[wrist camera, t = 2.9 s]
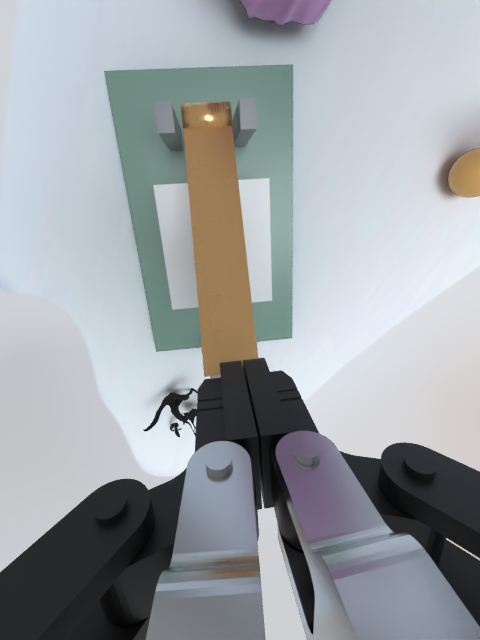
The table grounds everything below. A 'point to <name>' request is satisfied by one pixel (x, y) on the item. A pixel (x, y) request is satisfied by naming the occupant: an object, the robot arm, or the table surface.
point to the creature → (175, 411)
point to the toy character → (286, 10)
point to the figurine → (466, 174)
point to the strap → (218, 236)
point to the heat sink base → (168, 166)
